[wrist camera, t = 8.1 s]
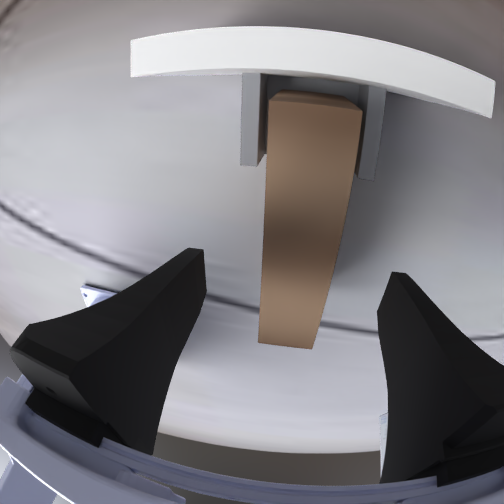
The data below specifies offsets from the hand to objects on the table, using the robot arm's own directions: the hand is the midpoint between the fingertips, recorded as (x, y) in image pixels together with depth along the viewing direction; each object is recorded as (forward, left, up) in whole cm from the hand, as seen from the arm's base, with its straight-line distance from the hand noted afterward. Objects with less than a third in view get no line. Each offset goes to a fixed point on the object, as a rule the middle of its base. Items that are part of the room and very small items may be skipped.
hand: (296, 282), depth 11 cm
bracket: (+5, 0, -8) cm, 9 cm away
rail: (0, 0, -8) cm, 8 cm away
